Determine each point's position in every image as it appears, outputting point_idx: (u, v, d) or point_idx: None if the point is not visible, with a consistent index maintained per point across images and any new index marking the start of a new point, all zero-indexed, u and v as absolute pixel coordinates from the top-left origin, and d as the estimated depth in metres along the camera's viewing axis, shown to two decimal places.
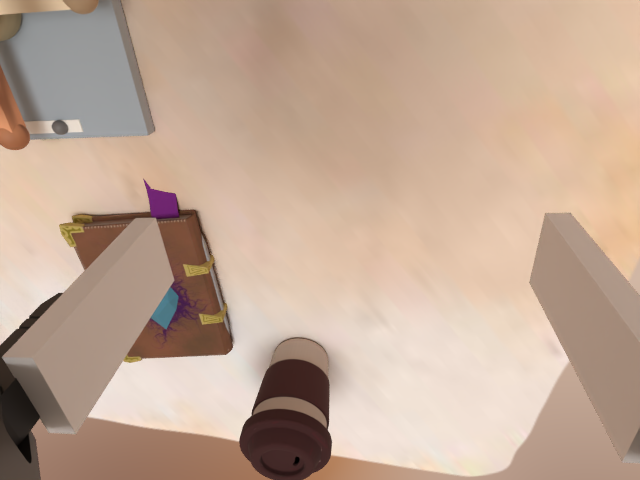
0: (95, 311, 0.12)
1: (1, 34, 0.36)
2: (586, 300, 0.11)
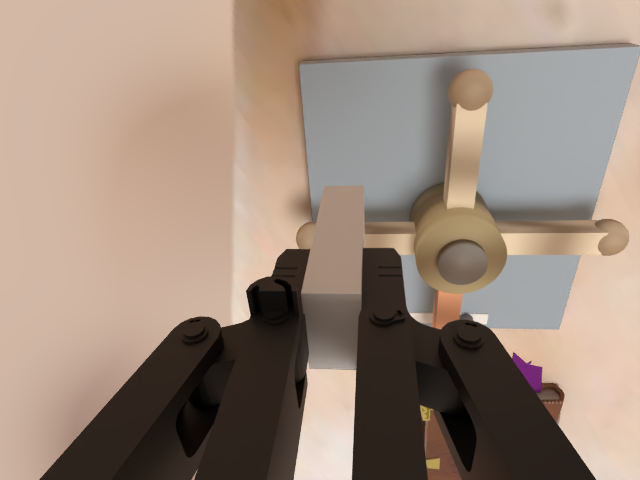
0: None
1: None
2: None
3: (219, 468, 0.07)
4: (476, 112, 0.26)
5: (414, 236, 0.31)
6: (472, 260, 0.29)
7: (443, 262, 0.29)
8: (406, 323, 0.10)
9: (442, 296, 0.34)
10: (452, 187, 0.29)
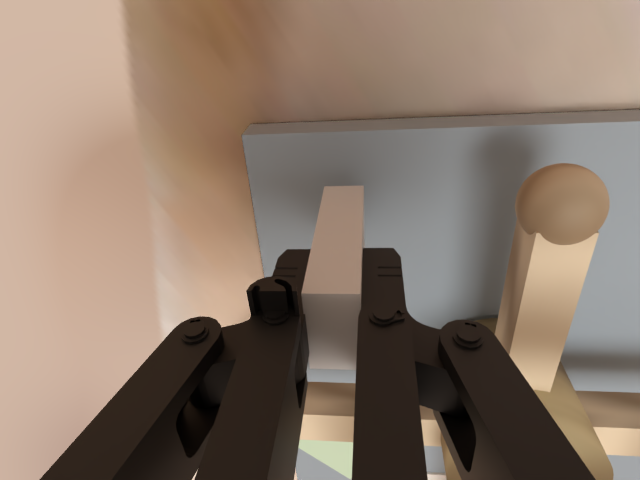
0: None
1: None
2: None
3: (219, 468, 0.07)
4: (574, 247, 0.13)
5: None
6: None
7: None
8: (405, 323, 0.10)
9: None
10: (514, 360, 0.16)
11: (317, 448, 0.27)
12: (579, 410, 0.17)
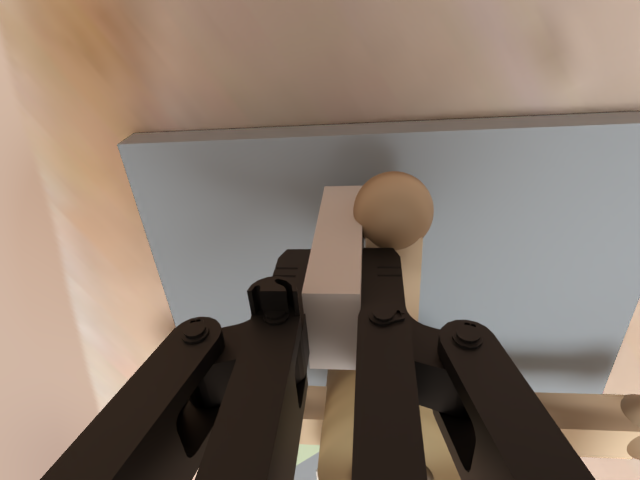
0: None
1: None
2: None
3: (220, 468, 0.07)
4: (403, 252, 0.14)
5: (321, 423, 0.19)
6: None
7: None
8: (405, 323, 0.10)
9: None
10: None
11: None
12: None
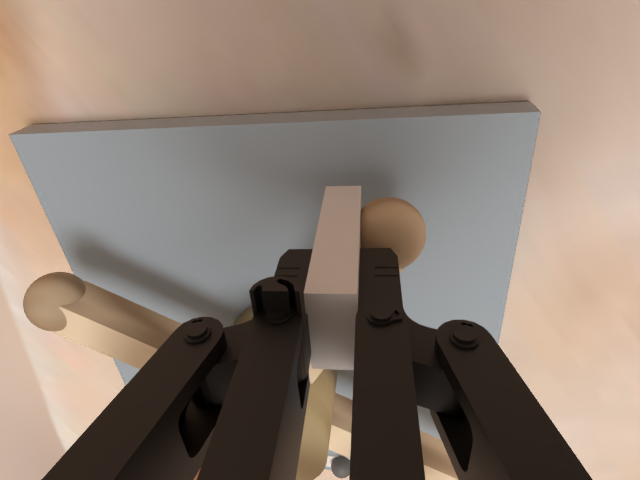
0: None
1: None
2: None
3: (221, 468, 0.07)
4: None
5: None
6: None
7: None
8: (403, 323, 0.10)
9: None
10: None
11: None
12: (327, 407, 0.19)
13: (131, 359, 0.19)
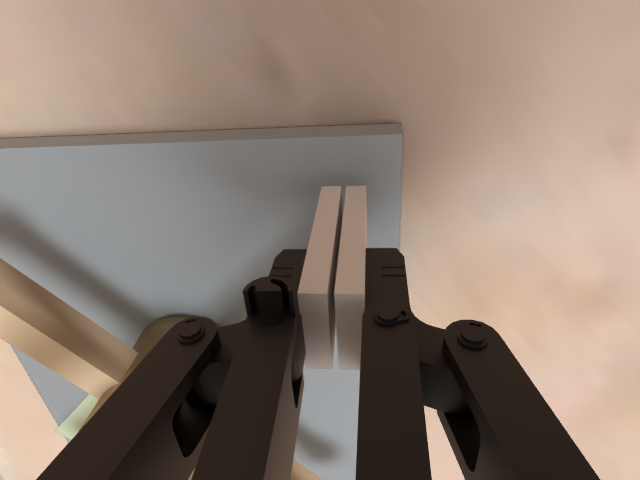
0: (334, 262, 0.13)
1: None
2: None
3: (216, 468, 0.07)
4: None
5: (114, 384, 0.19)
6: None
7: None
8: (410, 323, 0.10)
9: None
10: None
11: None
12: None
13: (30, 350, 0.18)
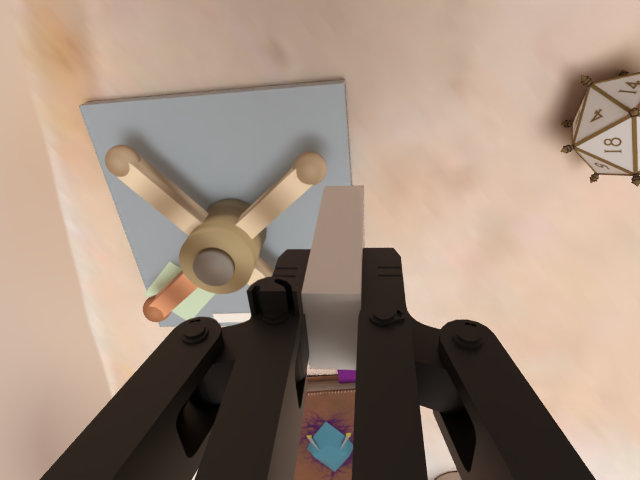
0: None
1: None
2: None
3: (219, 468, 0.07)
4: (302, 184, 0.33)
5: (199, 224, 0.36)
6: (221, 271, 0.34)
7: (201, 257, 0.34)
8: (405, 323, 0.10)
9: (184, 278, 0.39)
10: (250, 214, 0.35)
11: None
12: (256, 254, 0.36)
13: (156, 203, 0.35)
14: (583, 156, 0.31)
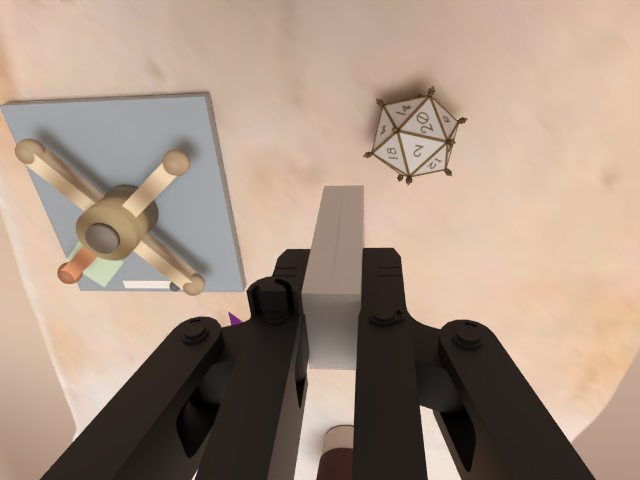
0: None
1: None
2: None
3: (219, 468, 0.07)
4: (168, 175, 0.42)
5: (93, 204, 0.45)
6: (107, 241, 0.44)
7: (91, 230, 0.43)
8: (406, 323, 0.10)
9: None
10: (132, 198, 0.44)
11: None
12: (140, 229, 0.45)
13: (58, 186, 0.44)
14: (382, 160, 0.41)
